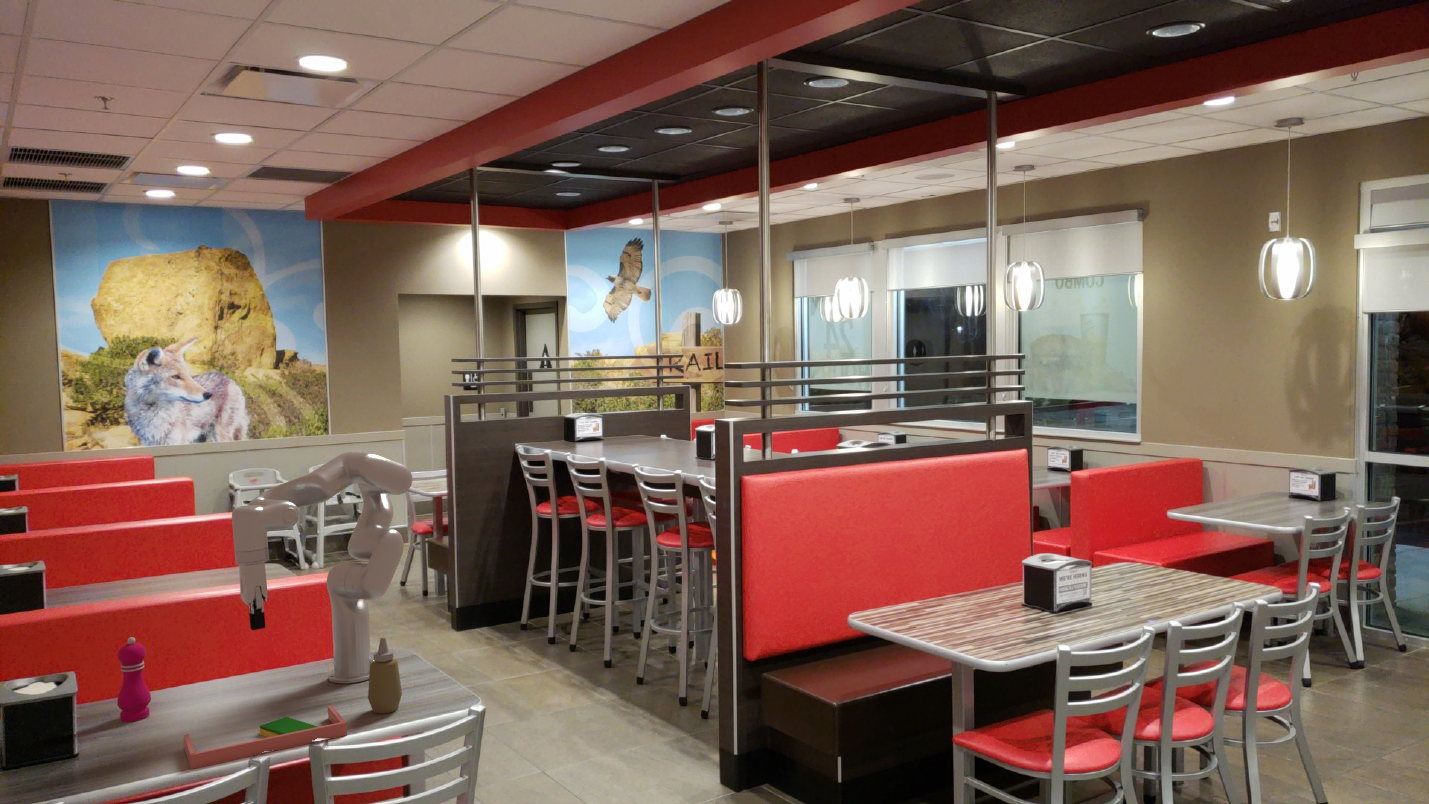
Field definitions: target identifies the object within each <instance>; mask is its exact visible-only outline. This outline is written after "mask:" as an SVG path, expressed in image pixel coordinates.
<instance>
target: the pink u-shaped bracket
mask: <svg viewBox="0 0 1429 804" xmlns="http://www.w3.org/2000/svg"><path fill="white" fill-rule="evenodd" d="M327 715H328V720H329V721H330V723H331V724H327V725H320V726H318V727H316V728H311V729H306V730H301V731H297V732H292V733H287V734H282V735H277V736H273V737H265V738H260V739H253V740H249V741H244V742H240V743H234V744H231V745H225V746H221V747H216V748H210V749H206V750H202V751H198V752H196V751H195V750H196V749H195V748H194V745H193V742H192V739H191V737H190V733H187V734H183V745H184V747H183V748H184V751H185V754H186V758H187V761H188V764H189V767H190V769H191V770H192V769H193V770H194V769H197V768H198V769H199V768H202V767H207V766H211V765H216V764H219V763H221V764H222V763H225V762H230V761H234V760H238V759H243V758H248V757H253V756H252V755H254V756H256V755H255V754H258V755H261V754H260V753H262V752H264V751H272V750H277V751H281V750H280V749H282V750H284V749H286V750H287V749H290V748H294V747H295V746H296V747H299V746H304V744H305V745H309V744H311V743H310V742H312V740H315V739H317V738H333V739H335V738H334V737H337V738H341V736H342V737H345V736H344V735H346V736H347V735H348V729H347V727H348V726H347V721H346V720H345V719H344V718H343V716H341V714H340V713H339V712H338V711H337V710H336V709H335V707H334V706H333V705H328V706H327ZM308 743H309V744H308ZM272 752H273V751H272Z"/></svg>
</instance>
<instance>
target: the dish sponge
mask: <svg viewBox="0 0 1429 804" xmlns="http://www.w3.org/2000/svg"><path fill="white" fill-rule="evenodd" d="M316 727H319V726H317V725H315V724H312V723H308V722H305V721H302V720H299V719H295V718H292V717H289V716H285V717H282V718H279V719H275V720H273V721H269V722H267V723H263V724H261V725H259V735H261V736H264V737H266V738H268V737H273V736H277V735H282V734H287V733H292V732H297V731H301V730H306V729H311V728H316Z"/></svg>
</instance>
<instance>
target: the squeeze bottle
mask: <svg viewBox="0 0 1429 804" xmlns="http://www.w3.org/2000/svg"><path fill="white" fill-rule="evenodd" d="M379 639H380V640H379V644H378V650H377V651H376V652H374V653H373V659H374V661H373V662H372V663H371V664H370V674H369V679H368V691H367V699H368V702H369V705H370V707H371V709H372V712H373V713H375V714H388V713H389V714H390V713H392V712H395V711H397V710H399V705H400V702H401V698H402V694H403V692H402V684H401V676H400V669H399V663H398V660H396V659H395V658H394V651H393V650H389V647H388V646H389V645H388V643H387V639H386V637H380V638H379Z"/></svg>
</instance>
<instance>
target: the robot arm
mask: <svg viewBox="0 0 1429 804" xmlns="http://www.w3.org/2000/svg"><path fill="white" fill-rule="evenodd" d="M413 478H414V477H413V474H412V471H411V470H410V469H409V468H408V467H407V466H406V465H404V464H402V463H400V462H397V461H395V460H393V459H388V458H386V457H384V456H381V455H378V454H375V453H372V452H351V451H350V452H344V453H341V454H339V455H337V456H336V457H334V458H332V459H331V460H329V461H328V462H326V463H324V464H323V465H321V466H318V468H316V469H315V470H313V471H311V472H310V473H308V474H306V475H302V476H299V477H297V478H295V479H291V480H290V481H286V482H284V483H280V484H278V485H276V486H274V487H271V488H270V489H267V490H265V491H264V492H263V493H260V494H259V495H257V496H256V497H254V498H253V499H252V500H250V502H249V503H248V504H247V505H242V506H238V507H235V508H234V509H233V510H232V512H231V520H232V521H231V524H232V534H233V535H232V537H233V546H234V547H233V548H234V558H235V559H234V560H235V565H236V566H237V565H239V569H238V572H239V591H240V594H239V595H240V599H241V600H242V602H243V603H244V604H245V605H247V606H248V608H249V609H248V610H249V611H248V612H249V613H248V614H249V615H248V617H249V628H250V630H251V631H256V630H257V631H258V630H262V629H265V628H266V618H265V609H264V603H266V602H267V601H268V585H267V584H268V583H267V574H266V573H267V572H266V564H265V563H266V562H268V561H270V554H269V553H270V552H269V544H268V543H269V540H268V533H270V532H278V531H285V530H289V529H291V528H293V527H294V526H295V525H296V524H297V523H298V522H299V519H300V510H299V508H301V507H307V506H308V507H309V506H314V505H317V504H322V503H325V502H327V501H329V500H331V498H333V497H334V496H336V495H338V494H339V493H341V492H342V491H344V490H345V489H347V488H348V487H350V486H352V485H353V484H355V485H356V484H357V485H358V487H359V490H360V493H361V497H362V500H363V501H362V502H363V507H362V509H361V510H362V511H361V513H360V516H359V518H358V519H357V522H356V524H355V527H354V528H353V532H352V533H351V535H350V538H349V540H348V544H347V552H348V555H349V556H350V557H351V558H353V559H355V560H358V561H364V562H368V563H362V562H351V561H343V562H339V563H337V564H335V565H334V566H333V567H331V568H330V570H329V571H328V574H327V577H326V588H327V591H328V592H327V593H328V596H329V600H330V606H331V607H330V608H331V620H332V621H331V622H332V623H331V625H332V645H333V646H332V648H333V651H332V652H333V669H334V671H331V672H330V673H329V674H328V681H329V682H331V683H334V684H354V683H359V682H364V681H365V682H366V681H369V674H370V664H371V663H372V662H373V661H374V657H372V656H371V655H372V654H371V636H370V635H371V634H370V632H371V630H370V628H371V627H370V611H369V606H368V603H367V601H374V600H375V601H376V600H379V599H380V598H382V597H383V596H384V595H385V593H386V592H387V590H388V589H389V587H390V585H391V583H392V581H393V578H394V575H395V573H396V571H397V569H398V566H399V564H400V561H401V559H402V556H403V553H404V547H405V546H404V545H405V544H404V539H403V536H402V534H401V533H400V532H399V531H398V530H397V529H394V528H391V527H390V526H391V525H392V521H393V519H394V506H393V502H392V500H391V497H390V495H392V496H393V495H394V496H397V495H403V494H406V493H407V492H408V491H409V490H410V489H411V486H413V485H412V484H413V481H414V479H413Z"/></svg>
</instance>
